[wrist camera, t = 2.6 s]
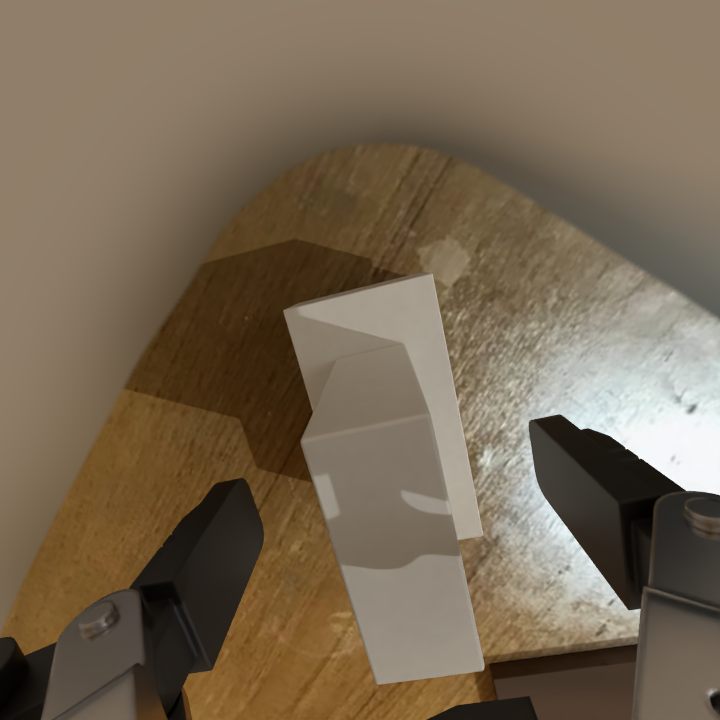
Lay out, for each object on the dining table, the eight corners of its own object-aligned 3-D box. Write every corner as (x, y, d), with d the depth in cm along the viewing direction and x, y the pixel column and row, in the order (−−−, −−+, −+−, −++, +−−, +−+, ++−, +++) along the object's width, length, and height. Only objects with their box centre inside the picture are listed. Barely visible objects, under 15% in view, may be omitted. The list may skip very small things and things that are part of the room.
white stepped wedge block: (360, 496, 18) (341, 757, 8) (305, 299, 16) (193, 351, 6) (460, 477, 18) (560, 732, 8) (418, 271, 15) (488, 279, 6)
